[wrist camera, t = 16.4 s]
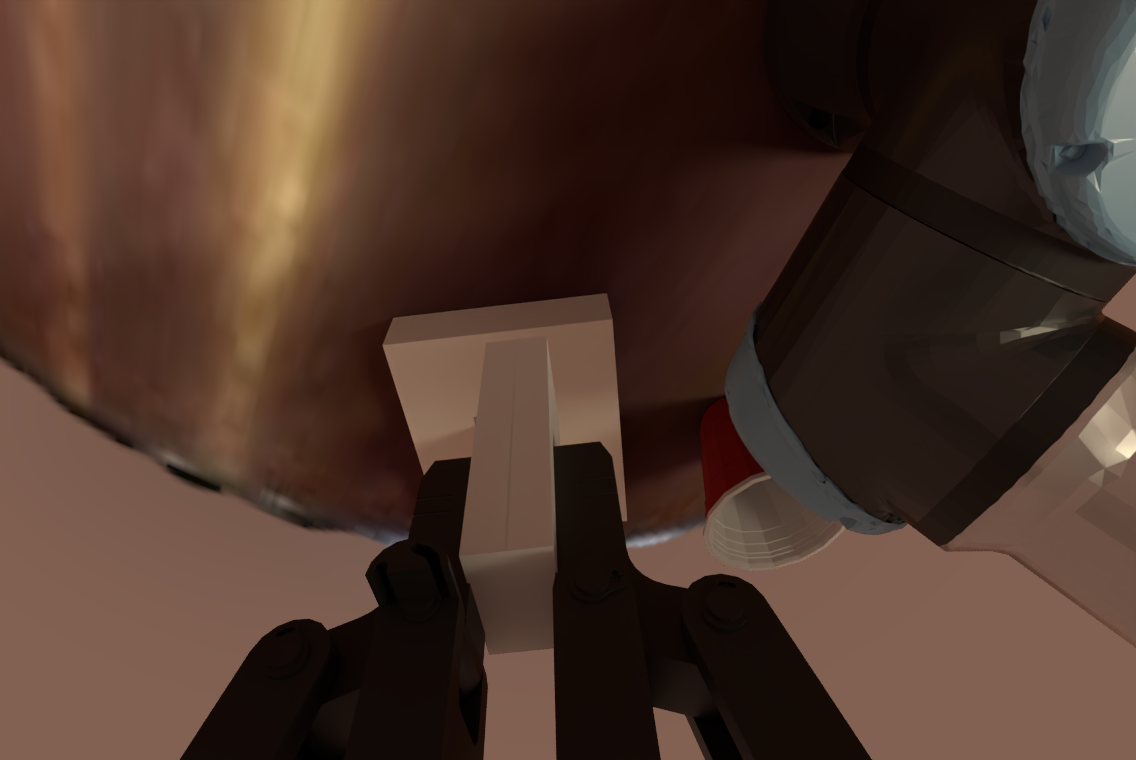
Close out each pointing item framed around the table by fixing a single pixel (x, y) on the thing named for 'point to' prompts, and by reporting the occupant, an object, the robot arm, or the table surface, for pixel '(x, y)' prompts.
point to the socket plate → (455, 363)
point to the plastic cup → (752, 505)
